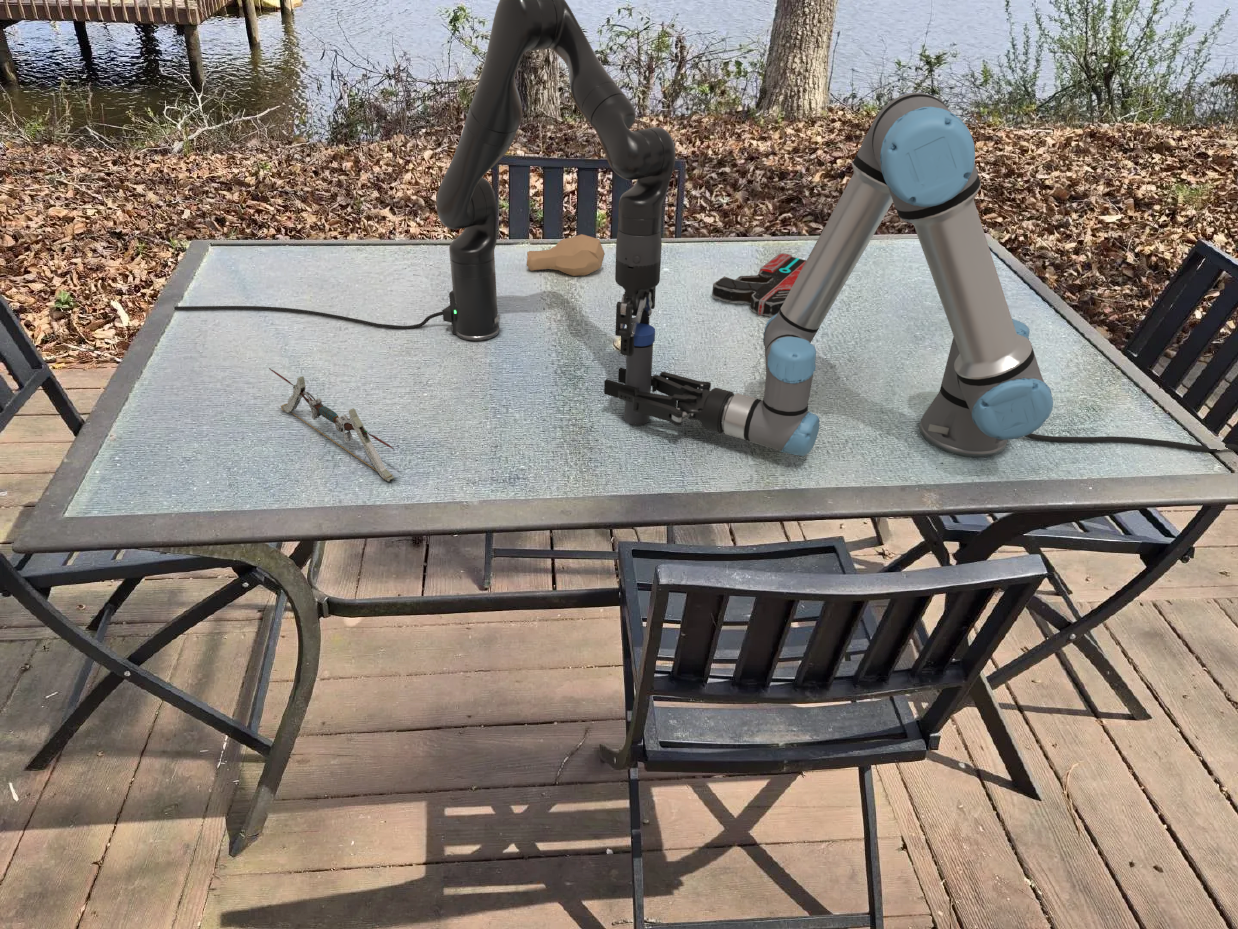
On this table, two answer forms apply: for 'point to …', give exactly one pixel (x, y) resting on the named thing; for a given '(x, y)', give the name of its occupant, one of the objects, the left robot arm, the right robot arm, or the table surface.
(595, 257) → the squash
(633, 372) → the dark grey bottle
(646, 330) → the lid
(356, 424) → the bow
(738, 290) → the gun
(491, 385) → the table surface
